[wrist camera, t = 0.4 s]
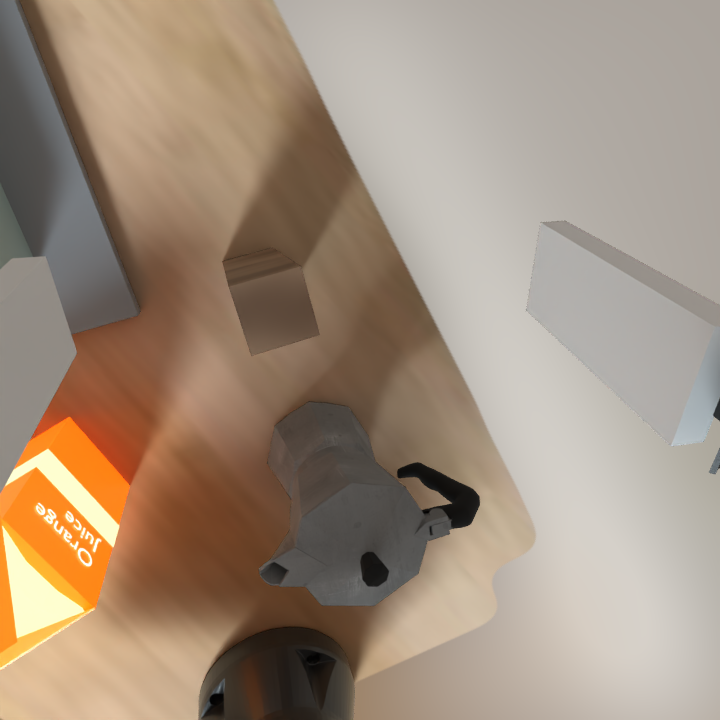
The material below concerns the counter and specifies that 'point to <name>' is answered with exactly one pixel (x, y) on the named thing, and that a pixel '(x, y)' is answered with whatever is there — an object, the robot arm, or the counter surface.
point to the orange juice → (55, 536)
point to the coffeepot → (352, 511)
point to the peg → (270, 300)
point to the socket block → (52, 189)
